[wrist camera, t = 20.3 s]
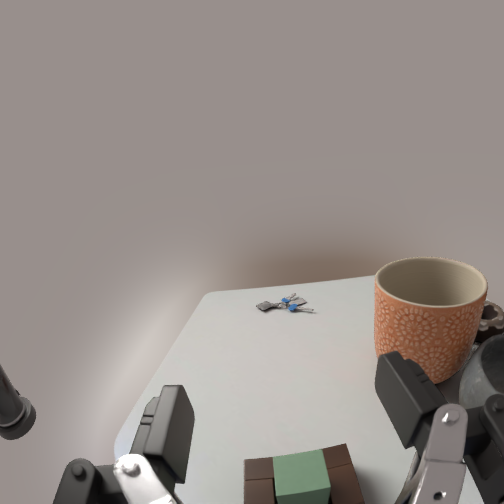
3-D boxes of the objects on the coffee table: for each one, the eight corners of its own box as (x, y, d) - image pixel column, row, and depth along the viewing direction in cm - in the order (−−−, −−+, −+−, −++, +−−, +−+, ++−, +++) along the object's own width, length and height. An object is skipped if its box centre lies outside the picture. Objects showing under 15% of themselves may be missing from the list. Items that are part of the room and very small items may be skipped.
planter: (415, 324, 46) (422, 249, 41) (481, 360, 30) (503, 274, 26) (349, 361, 41) (350, 277, 37) (420, 420, 25) (449, 324, 21)
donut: (507, 321, 35) (512, 304, 34) (496, 353, 30) (502, 333, 29) (464, 308, 45) (466, 291, 44) (445, 335, 40) (449, 316, 38)
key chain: (253, 311, 64) (252, 308, 64) (264, 295, 71) (263, 292, 71) (313, 312, 59) (313, 309, 58) (318, 295, 66) (318, 292, 66)
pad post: (324, 518, 16) (331, 486, 14) (284, 524, 16) (276, 496, 14) (319, 490, 20) (321, 448, 17) (281, 496, 20) (272, 456, 18)
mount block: (362, 533, 13) (371, 524, 12) (252, 551, 13) (243, 545, 12) (342, 461, 23) (346, 442, 22) (250, 476, 24) (243, 459, 22)
